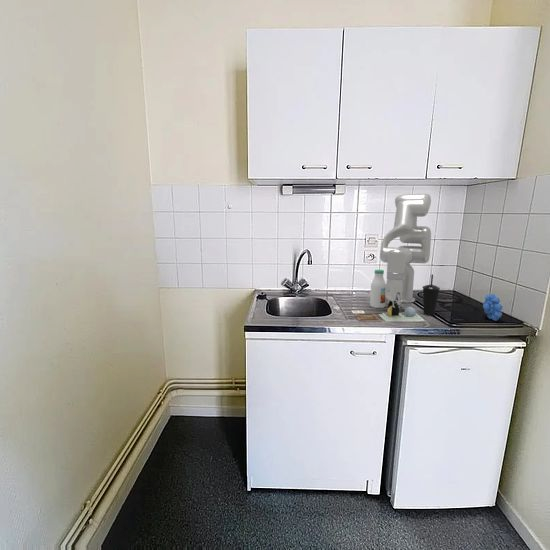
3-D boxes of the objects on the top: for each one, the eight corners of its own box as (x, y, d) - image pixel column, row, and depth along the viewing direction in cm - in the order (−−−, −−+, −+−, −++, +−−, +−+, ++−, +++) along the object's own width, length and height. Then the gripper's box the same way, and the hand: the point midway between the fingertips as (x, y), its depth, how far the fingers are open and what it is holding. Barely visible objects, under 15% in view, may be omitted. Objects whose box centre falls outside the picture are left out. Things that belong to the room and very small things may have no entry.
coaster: (354, 315, 150) (354, 313, 150) (374, 315, 150) (374, 313, 150) (359, 321, 140) (359, 319, 140) (381, 321, 140) (381, 319, 140)
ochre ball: (385, 314, 147) (386, 304, 146) (396, 314, 147) (396, 304, 146) (389, 317, 142) (389, 307, 141) (400, 317, 142) (400, 307, 141)
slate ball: (402, 315, 147) (402, 305, 146) (412, 315, 147) (413, 305, 146) (406, 318, 142) (407, 308, 141) (417, 318, 142) (418, 308, 141)
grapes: (474, 315, 148) (476, 291, 146) (488, 315, 148) (491, 291, 145) (489, 323, 136) (492, 297, 134) (505, 323, 136) (508, 297, 134)
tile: (351, 311, 156) (351, 310, 156) (362, 311, 156) (362, 310, 156) (353, 313, 153) (353, 312, 152) (365, 313, 152) (365, 312, 152)
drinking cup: (416, 312, 153) (419, 273, 149) (428, 311, 155) (431, 272, 152) (429, 317, 146) (432, 276, 142) (441, 315, 148) (445, 275, 145)
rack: (378, 314, 150) (378, 312, 150) (415, 314, 149) (415, 311, 149) (385, 321, 140) (385, 318, 140) (425, 321, 140) (425, 318, 139)
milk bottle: (375, 309, 160) (377, 271, 156) (367, 305, 167) (368, 269, 164) (387, 307, 162) (390, 270, 158) (379, 304, 169) (381, 268, 166)
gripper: (381, 273, 150) (379, 308, 153) (393, 279, 133) (391, 319, 136) (396, 272, 150) (394, 308, 153) (411, 279, 133) (408, 319, 136)
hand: (392, 313), depth 144 cm, fingers closed on ochre ball, 4 cm apart
